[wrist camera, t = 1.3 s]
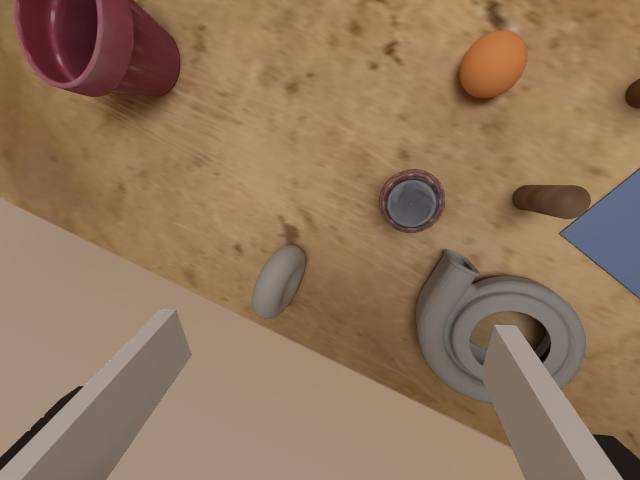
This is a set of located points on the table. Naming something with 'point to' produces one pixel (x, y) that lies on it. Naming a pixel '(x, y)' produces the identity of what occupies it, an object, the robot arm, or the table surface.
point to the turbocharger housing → (477, 303)
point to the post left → (553, 200)
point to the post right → (634, 94)
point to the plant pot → (97, 46)
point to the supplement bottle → (412, 201)
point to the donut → (278, 281)
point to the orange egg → (493, 64)
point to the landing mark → (613, 233)
